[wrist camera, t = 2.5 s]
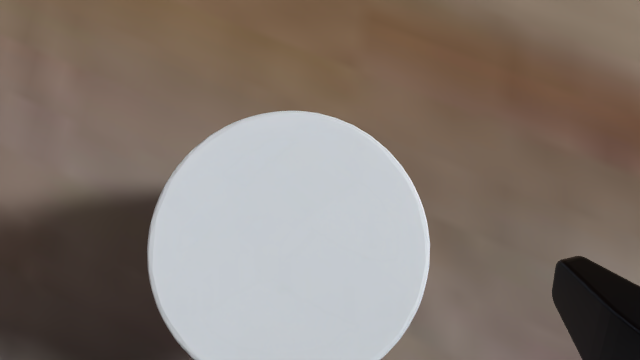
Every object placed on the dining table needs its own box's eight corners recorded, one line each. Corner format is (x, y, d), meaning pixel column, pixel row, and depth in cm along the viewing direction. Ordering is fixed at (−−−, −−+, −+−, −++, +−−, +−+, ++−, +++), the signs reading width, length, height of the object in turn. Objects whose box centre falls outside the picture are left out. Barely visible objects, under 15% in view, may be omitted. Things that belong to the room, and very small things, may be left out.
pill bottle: (314, 388, 18) (317, 521, 8) (183, 282, 18) (32, 283, 8) (414, 249, 18) (527, 213, 9) (285, 153, 19) (258, 19, 9)
